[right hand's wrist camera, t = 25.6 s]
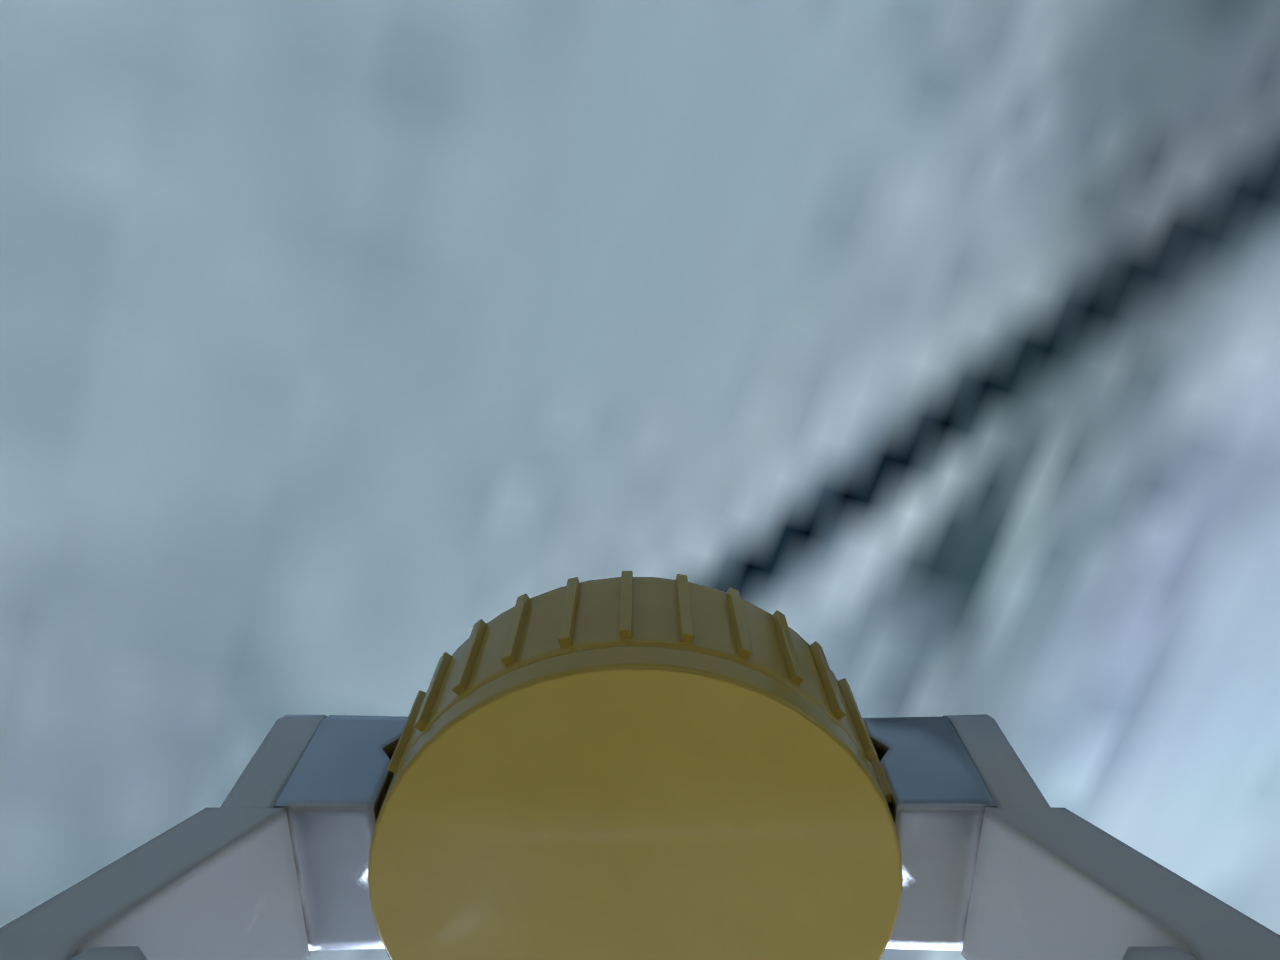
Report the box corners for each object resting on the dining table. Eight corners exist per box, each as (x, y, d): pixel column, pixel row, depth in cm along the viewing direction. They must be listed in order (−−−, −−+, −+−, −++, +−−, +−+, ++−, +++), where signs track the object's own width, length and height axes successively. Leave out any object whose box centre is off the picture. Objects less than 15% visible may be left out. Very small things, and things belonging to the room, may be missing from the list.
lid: (830, 962, 11) (864, 1105, 9) (406, 938, 11) (366, 1079, 9) (904, 585, 9) (961, 678, 8) (401, 549, 9) (348, 638, 8)
